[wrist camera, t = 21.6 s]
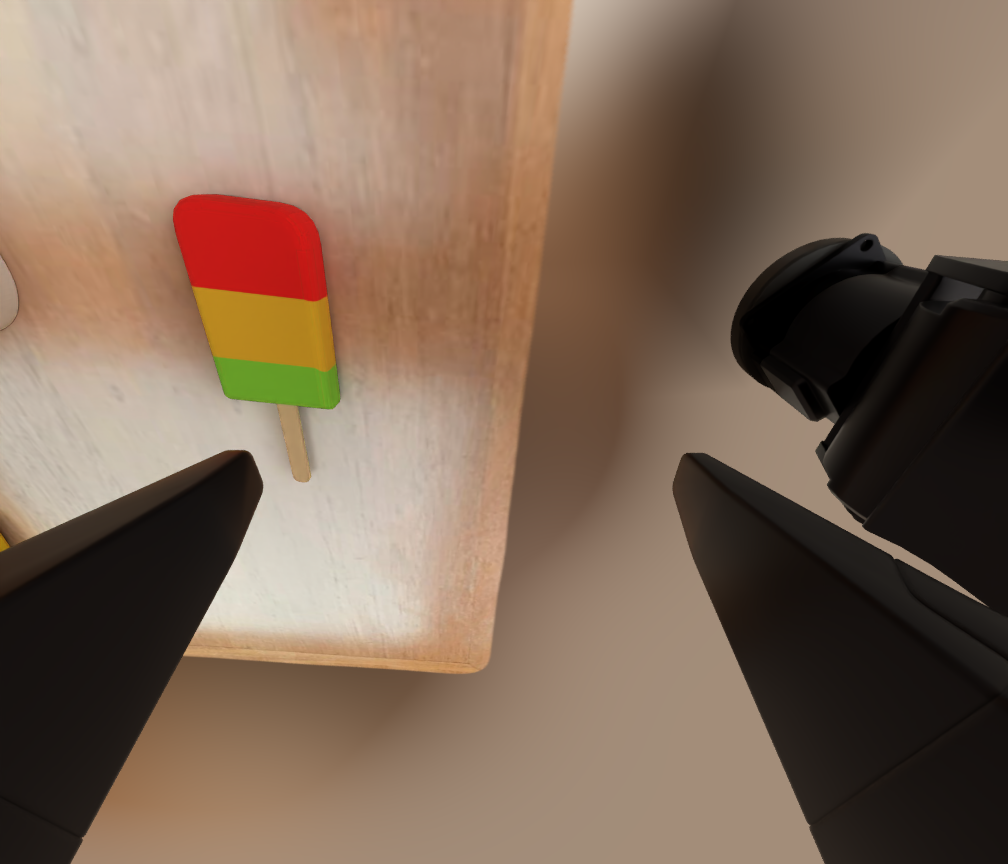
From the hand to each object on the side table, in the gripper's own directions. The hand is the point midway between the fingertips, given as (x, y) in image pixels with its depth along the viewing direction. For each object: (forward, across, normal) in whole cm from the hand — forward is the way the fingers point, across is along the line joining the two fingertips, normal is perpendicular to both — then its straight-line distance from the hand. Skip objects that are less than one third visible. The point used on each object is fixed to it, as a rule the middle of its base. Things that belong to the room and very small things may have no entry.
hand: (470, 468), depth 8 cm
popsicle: (+13, +10, +3) cm, 17 cm away
